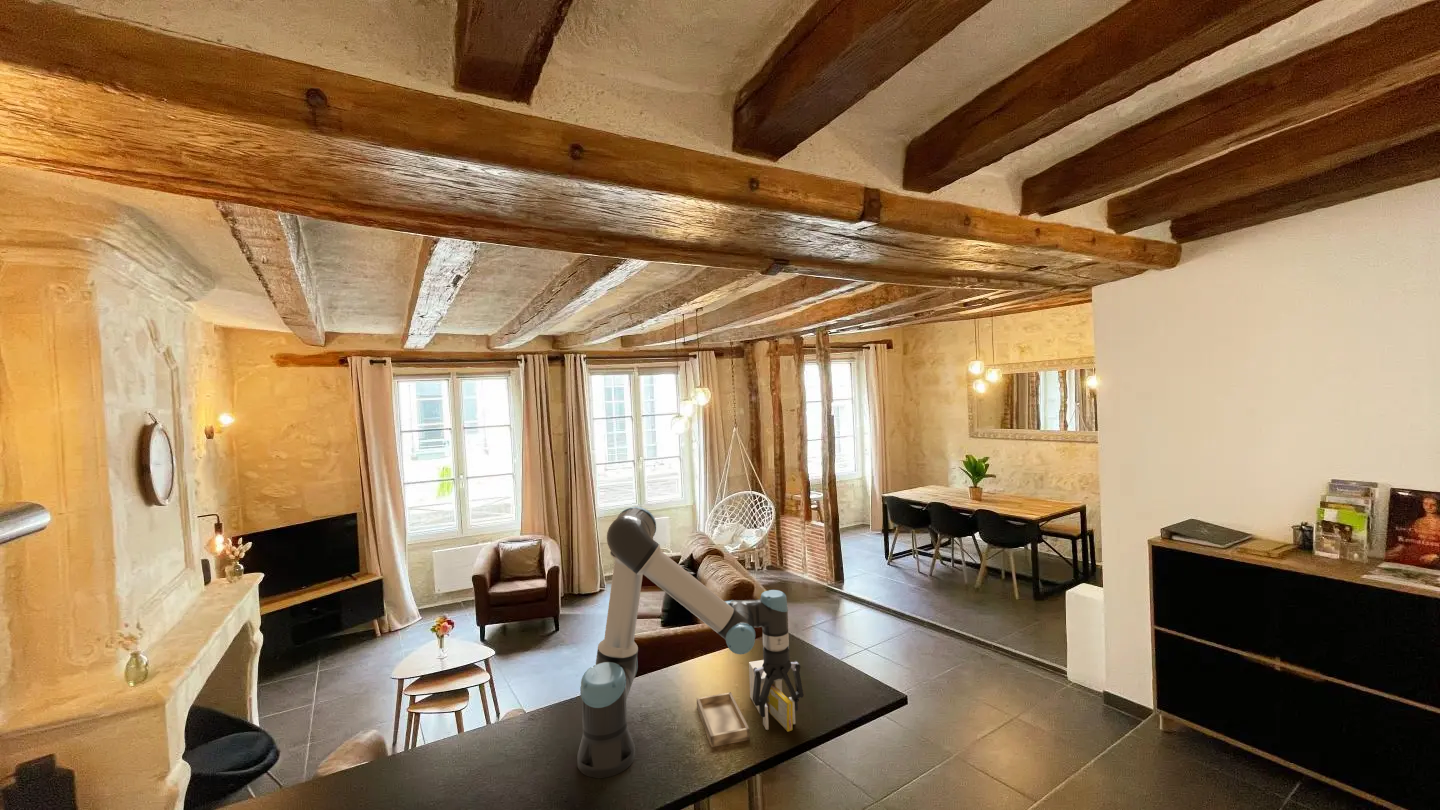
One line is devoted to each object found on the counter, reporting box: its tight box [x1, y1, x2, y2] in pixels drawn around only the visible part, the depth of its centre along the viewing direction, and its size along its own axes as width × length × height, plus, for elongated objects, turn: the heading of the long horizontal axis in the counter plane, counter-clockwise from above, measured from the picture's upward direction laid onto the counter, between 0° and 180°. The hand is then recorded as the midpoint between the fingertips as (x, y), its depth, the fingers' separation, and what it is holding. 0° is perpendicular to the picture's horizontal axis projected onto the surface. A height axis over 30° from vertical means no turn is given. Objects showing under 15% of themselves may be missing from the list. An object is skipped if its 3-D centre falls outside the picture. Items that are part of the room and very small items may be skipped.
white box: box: [748, 659, 784, 715], centre depth 172 cm, size 7×11×11 cm, turn 14°
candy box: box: [766, 684, 794, 733], centre depth 166 cm, size 16×2×8 cm, turn 24°
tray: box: [696, 691, 751, 748], centre depth 164 cm, size 11×20×3 cm, turn 14°
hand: (779, 724), depth 161 cm, fingers open, 7 cm apart
